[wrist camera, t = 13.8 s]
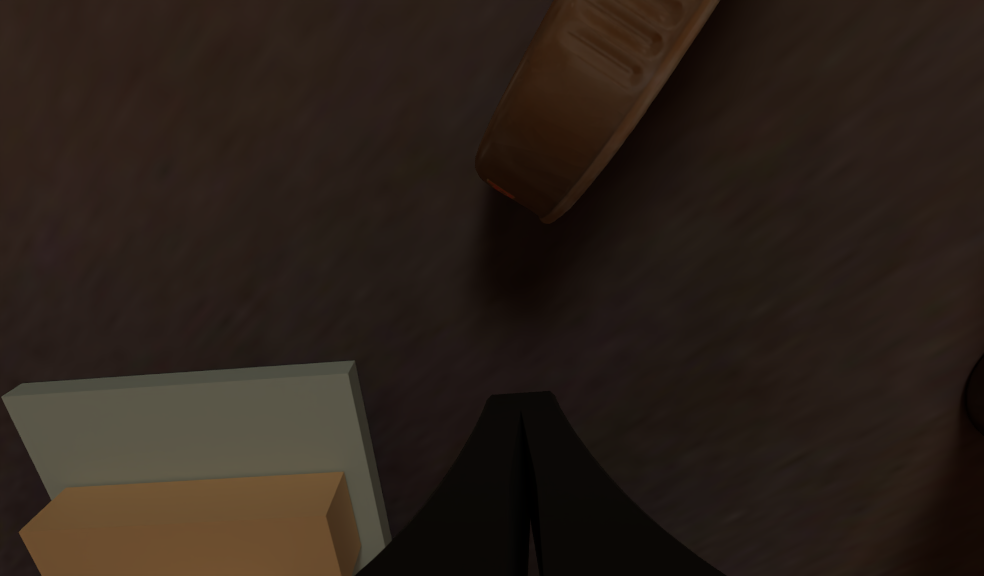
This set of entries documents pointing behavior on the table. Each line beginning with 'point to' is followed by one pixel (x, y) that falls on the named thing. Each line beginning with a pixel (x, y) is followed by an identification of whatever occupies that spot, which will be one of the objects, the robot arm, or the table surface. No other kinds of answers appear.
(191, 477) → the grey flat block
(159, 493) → the block
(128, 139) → the table surface
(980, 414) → the beer glass
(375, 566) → the robot arm
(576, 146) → the tin
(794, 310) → the table surface
